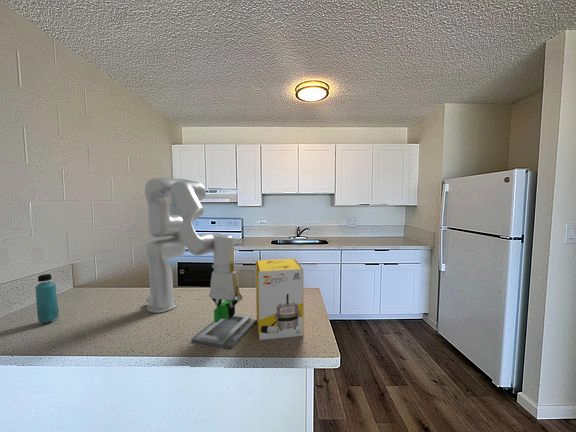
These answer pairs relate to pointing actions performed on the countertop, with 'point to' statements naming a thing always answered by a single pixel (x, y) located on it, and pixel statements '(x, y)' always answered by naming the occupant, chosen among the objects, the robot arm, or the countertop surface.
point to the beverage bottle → (46, 299)
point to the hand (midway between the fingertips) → (225, 314)
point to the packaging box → (279, 298)
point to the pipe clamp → (221, 311)
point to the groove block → (225, 331)
